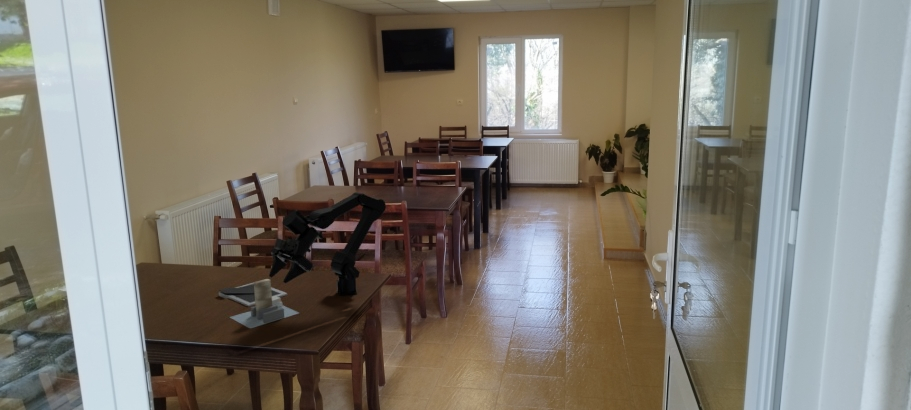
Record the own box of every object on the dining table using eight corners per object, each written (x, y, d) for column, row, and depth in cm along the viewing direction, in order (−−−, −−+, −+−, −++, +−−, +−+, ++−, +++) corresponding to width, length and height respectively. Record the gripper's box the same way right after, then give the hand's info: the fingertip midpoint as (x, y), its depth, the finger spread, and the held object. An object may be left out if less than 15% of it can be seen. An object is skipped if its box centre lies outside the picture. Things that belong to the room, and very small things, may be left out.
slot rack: (278, 305, 214) (277, 295, 213) (299, 315, 205) (298, 304, 204) (229, 319, 201) (228, 308, 201) (250, 330, 192) (249, 319, 191)
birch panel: (269, 312, 205) (267, 278, 203) (272, 313, 204) (270, 279, 202) (256, 316, 202) (253, 282, 199) (259, 317, 200) (256, 283, 198)
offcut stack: (276, 303, 214) (275, 295, 213) (282, 306, 211) (282, 298, 210) (262, 307, 210) (262, 299, 209) (269, 310, 207) (268, 302, 207)
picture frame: (219, 297, 224) (248, 310, 211) (218, 290, 224) (248, 302, 210) (257, 286, 236) (287, 298, 223) (256, 279, 235) (287, 291, 222)
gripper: (273, 224, 211) (246, 261, 206) (303, 233, 199) (275, 273, 193) (294, 242, 218) (269, 278, 213) (324, 251, 206) (298, 290, 200)
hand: (277, 279), depth 204 cm, fingers open, 9 cm apart
